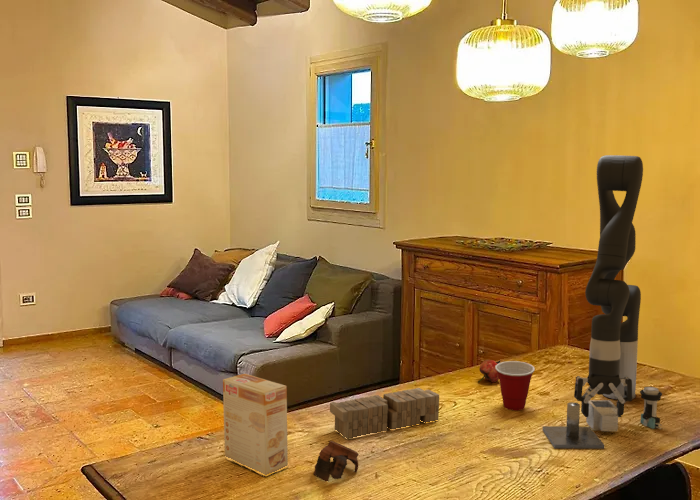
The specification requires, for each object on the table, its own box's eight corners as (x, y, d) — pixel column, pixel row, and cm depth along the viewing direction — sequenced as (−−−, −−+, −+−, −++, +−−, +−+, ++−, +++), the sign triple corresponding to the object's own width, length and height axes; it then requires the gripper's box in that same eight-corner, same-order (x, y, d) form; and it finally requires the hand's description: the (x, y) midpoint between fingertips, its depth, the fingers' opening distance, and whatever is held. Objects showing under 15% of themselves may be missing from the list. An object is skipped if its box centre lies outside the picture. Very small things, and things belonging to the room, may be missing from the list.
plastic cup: (490, 411, 200) (491, 369, 199) (498, 399, 210) (499, 359, 209) (530, 416, 196) (531, 373, 195) (536, 403, 206) (537, 363, 205)
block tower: (422, 416, 200) (328, 431, 186) (423, 386, 199) (328, 400, 185) (439, 425, 193) (342, 442, 179) (440, 394, 192) (343, 409, 178)
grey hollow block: (586, 421, 192) (587, 400, 191) (608, 422, 192) (609, 400, 191) (597, 435, 182) (598, 412, 181) (621, 435, 182) (622, 412, 181)
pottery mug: (307, 470, 164) (322, 436, 166) (344, 486, 165) (358, 451, 167) (316, 479, 152) (332, 442, 154) (356, 496, 153) (371, 459, 155)
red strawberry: (488, 393, 223) (512, 372, 224) (473, 375, 222) (498, 354, 223) (480, 388, 230) (504, 368, 231) (466, 370, 229) (490, 350, 230)
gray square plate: (542, 430, 186) (543, 396, 185) (589, 430, 186) (590, 396, 185) (554, 448, 174) (555, 412, 173) (604, 448, 174) (605, 412, 173)
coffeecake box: (289, 468, 164) (287, 385, 161) (265, 478, 159) (263, 392, 156) (247, 450, 174) (245, 372, 171) (223, 459, 169) (221, 378, 166)
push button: (668, 429, 186) (670, 392, 185) (652, 432, 184) (654, 394, 183) (650, 420, 192) (651, 384, 191) (634, 423, 190) (635, 386, 189)
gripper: (627, 352, 190) (624, 411, 191) (572, 351, 190) (570, 411, 192) (637, 359, 182) (634, 421, 184) (581, 359, 182) (578, 421, 184)
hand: (602, 416), depth 188 cm, fingers open, 8 cm apart
